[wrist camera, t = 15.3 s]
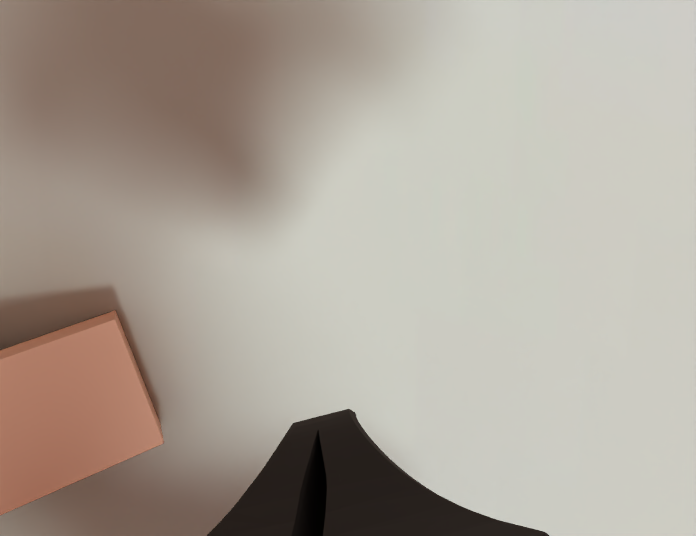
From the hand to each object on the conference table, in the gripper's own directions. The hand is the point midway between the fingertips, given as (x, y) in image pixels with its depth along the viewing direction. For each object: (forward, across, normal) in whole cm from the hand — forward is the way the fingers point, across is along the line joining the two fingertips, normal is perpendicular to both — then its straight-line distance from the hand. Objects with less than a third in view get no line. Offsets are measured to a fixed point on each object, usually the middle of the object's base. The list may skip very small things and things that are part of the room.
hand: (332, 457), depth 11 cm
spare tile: (+9, +7, 0) cm, 12 cm away
